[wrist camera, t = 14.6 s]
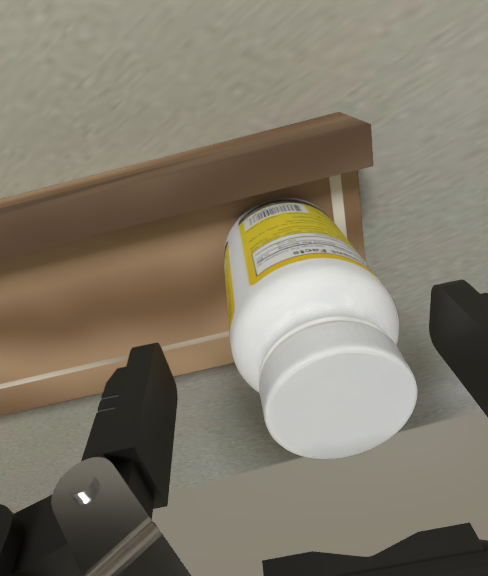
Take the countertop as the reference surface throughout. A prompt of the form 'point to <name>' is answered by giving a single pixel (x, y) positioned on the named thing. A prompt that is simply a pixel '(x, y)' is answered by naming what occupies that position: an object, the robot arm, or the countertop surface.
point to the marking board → (152, 254)
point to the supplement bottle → (314, 332)
